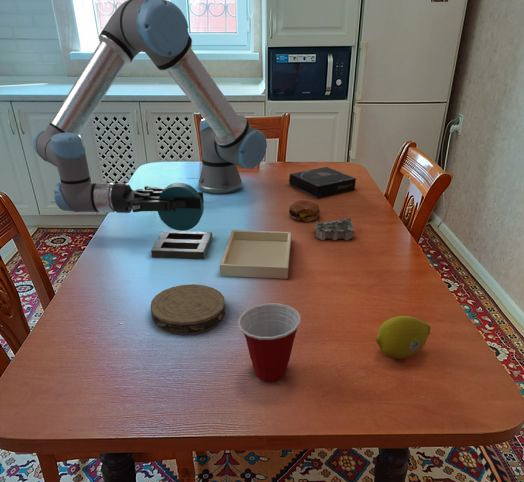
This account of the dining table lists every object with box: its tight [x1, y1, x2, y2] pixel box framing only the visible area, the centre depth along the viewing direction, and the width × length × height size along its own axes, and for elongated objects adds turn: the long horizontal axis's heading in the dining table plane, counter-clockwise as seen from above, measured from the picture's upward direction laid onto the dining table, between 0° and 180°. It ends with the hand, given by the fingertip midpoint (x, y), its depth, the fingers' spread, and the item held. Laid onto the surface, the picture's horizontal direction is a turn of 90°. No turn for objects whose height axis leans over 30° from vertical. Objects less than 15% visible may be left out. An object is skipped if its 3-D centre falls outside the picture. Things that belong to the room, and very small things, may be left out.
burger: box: [288, 198, 321, 223], centre depth 150 cm, size 10×9×5 cm
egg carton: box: [315, 217, 355, 241], centre depth 139 cm, size 11×8×4 cm
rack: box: [150, 230, 213, 260], centre depth 133 cm, size 14×13×2 cm
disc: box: [157, 182, 205, 232], centre depth 130 cm, size 12×3×12 cm, turn 85°
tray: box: [219, 229, 292, 280], centre depth 128 cm, size 22×17×3 cm
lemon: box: [375, 315, 431, 360], centre depth 92 cm, size 11×8×8 cm
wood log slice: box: [150, 283, 227, 336], centre depth 105 cm, size 16×16×3 cm
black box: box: [288, 166, 357, 199], centre depth 173 cm, size 16×17×4 cm
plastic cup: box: [237, 302, 302, 383], centre depth 87 cm, size 11×11×12 cm
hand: (201, 200), depth 128 cm, fingers closed on disc, 3 cm apart
